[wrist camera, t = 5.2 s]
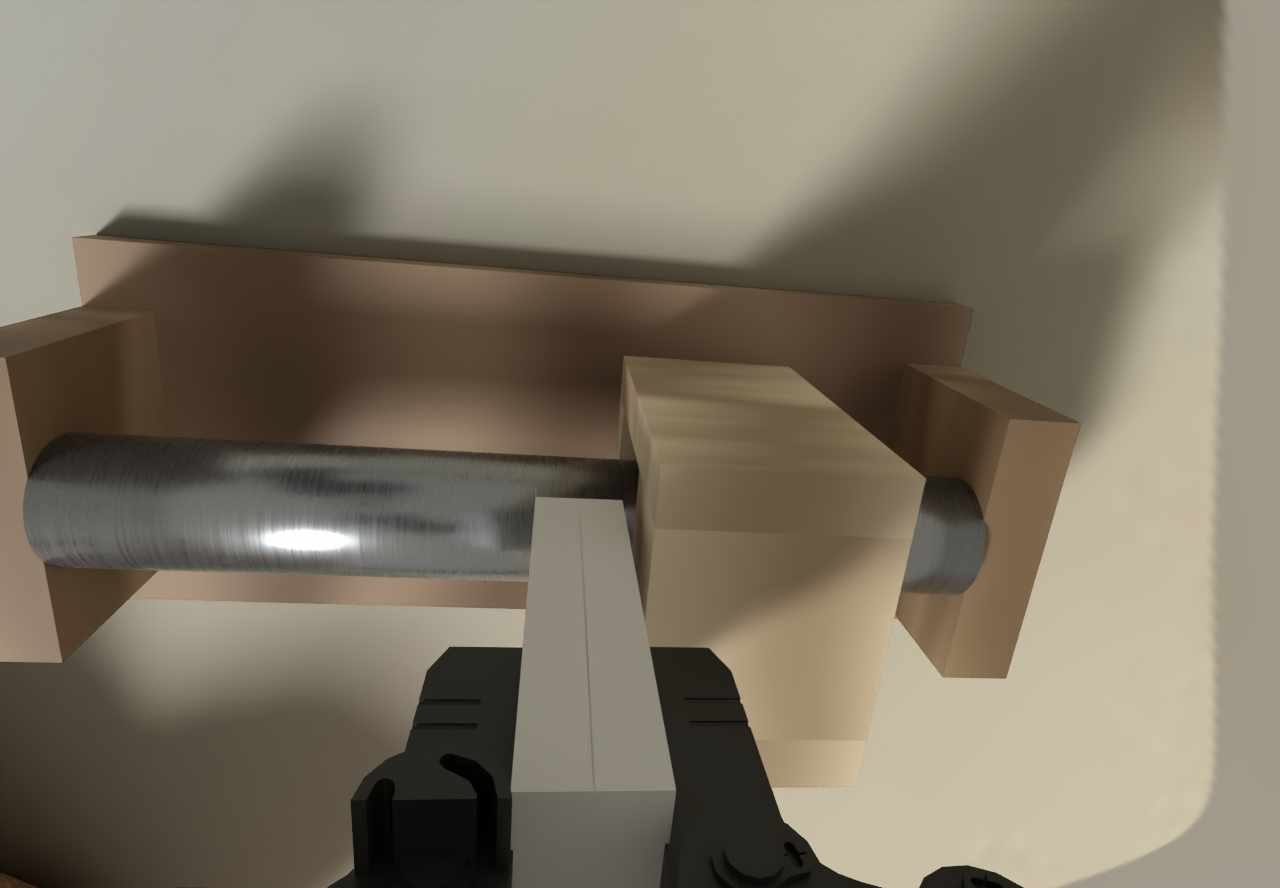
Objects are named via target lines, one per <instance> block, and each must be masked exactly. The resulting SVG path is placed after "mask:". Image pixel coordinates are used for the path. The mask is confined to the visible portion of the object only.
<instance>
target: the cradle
mask: <svg viewBox="0 0 1280 888" xmlns="http://www.w3.org/2000/svg"><path fill="white" fill-rule="evenodd" d="M72 241H73V247H74V254H75V261H76V267H77V274H78V281H79V287H80V294H81V301H82V306H81V307H77V308H73V309H70V310H66V311H62V312H58V313H54V314H50V315H46V316H42V317H38V318H34V319H31V320H27V321H23V322H19V323H15V324H11V325H7V326H3V327H0V662H50V663H63V662H64V661H65V660H66V659H67V658H68V657H69V656H70V655H71V654H72V653H73V652H74V651H75V650H76V649H77V648H78V647H79V646H80V645H81V644H82V643H83V642H84V641H86V640H87V639H88V638H89V637H90V636H91V635H92V634H93V633H94V632H95V631H96V630H97V629H98V628H99V627H100V626H101V625H102V624H103V623H104V622H105V621H106V620H107V619H109V618H110V617H111V616H112V615H113V614H114V613H115V612H116V611H117V610H118V609H119V608H120V607H121V606H122V605H123V604H124V603H125V602H126V601H127V600H128V599H166V600H204V601H242V602H279V603H317V604H355V605H393V606H431V607H469V608H507V609H526V603H527V591H528V582H518V581H485V580H452V579H420V578H387V577H355V576H322V575H290V574H257V573H225V572H192V571H160V570H127V569H95V568H62V567H53V566H50V565H47V564H46V563H44V562H43V561H41V560H40V559H39V558H38V557H37V556H36V554H35V553H34V552H33V550H32V548H31V546H30V544H29V542H28V539H27V536H26V532H25V528H24V521H23V499H24V492H25V487H26V483H27V479H28V476H29V473H30V471H31V468H32V466H33V464H34V462H35V460H36V458H37V457H38V455H39V454H40V452H41V451H42V450H43V448H44V447H45V446H46V445H47V444H48V443H49V442H50V441H51V440H53V439H54V438H55V437H57V436H59V435H61V434H63V433H66V432H92V433H112V434H132V435H151V436H171V437H191V438H210V439H230V440H250V441H269V442H289V443H309V444H328V445H348V446H367V447H387V448H407V449H426V450H446V451H466V452H485V453H505V454H525V455H544V456H564V457H584V458H603V459H615V455H616V443H617V431H618V419H619V407H620V395H621V383H622V371H623V359H624V356H635V357H650V358H665V359H680V360H694V361H709V362H724V363H739V364H754V365H768V366H783V367H790V368H791V369H793V370H794V371H795V372H796V373H798V374H799V375H800V376H801V377H802V378H804V379H805V380H806V381H807V382H809V383H810V384H811V385H812V386H813V387H815V388H816V389H817V390H818V391H820V392H821V393H822V394H823V395H824V396H826V397H827V398H828V399H829V400H831V401H832V402H833V403H834V404H835V405H837V406H838V407H839V408H840V409H842V410H843V411H844V412H845V413H846V414H848V415H849V416H850V417H851V418H853V419H854V420H855V421H856V422H858V423H859V424H860V425H861V426H862V427H864V428H865V429H866V430H867V431H869V432H870V433H871V434H872V435H873V436H875V437H876V438H877V439H878V440H880V441H881V442H882V443H883V444H884V445H886V446H887V447H888V448H889V449H891V450H892V451H893V452H894V453H895V454H897V455H898V456H899V457H900V458H902V459H903V460H904V461H905V462H907V463H908V464H909V465H910V466H911V467H913V468H914V469H915V470H916V471H918V472H919V473H920V474H921V475H937V476H955V477H959V478H961V479H963V480H964V481H966V482H967V483H968V484H969V485H970V487H971V488H972V489H973V491H974V492H975V494H976V496H977V498H978V500H979V503H980V506H981V509H982V513H983V518H984V525H985V549H984V556H983V561H982V565H981V568H980V571H979V573H978V575H977V578H976V579H975V581H974V583H973V584H972V585H971V587H970V588H968V589H967V590H966V591H965V592H963V593H961V594H958V595H940V594H908V593H900V595H899V600H898V604H897V609H896V613H895V617H894V619H899V621H900V622H901V623H902V625H903V626H904V627H905V629H906V630H907V631H908V632H909V634H910V635H911V636H912V638H913V639H914V640H915V642H916V643H917V644H918V646H919V647H920V648H921V649H922V651H923V652H924V653H925V655H926V656H927V657H928V659H929V660H930V661H931V663H932V664H933V665H934V666H935V668H936V669H937V670H938V672H939V673H940V674H941V676H942V677H949V678H1006V677H1007V674H1008V670H1009V667H1010V663H1011V660H1012V656H1013V653H1014V650H1015V646H1016V643H1017V639H1018V636H1019V632H1020V629H1021V626H1022V622H1023V619H1024V615H1025V612H1026V609H1027V605H1028V602H1029V598H1030V595H1031V591H1032V588H1033V585H1034V581H1035V578H1036V574H1037V571H1038V568H1039V564H1040V561H1041V557H1042V554H1043V550H1044V547H1045V544H1046V540H1047V537H1048V533H1049V530H1050V527H1051V523H1052V520H1053V516H1054V513H1055V509H1056V506H1057V503H1058V499H1059V496H1060V492H1061V489H1062V486H1063V482H1064V479H1065V475H1066V472H1067V468H1068V465H1069V462H1070V458H1071V455H1072V451H1073V448H1074V445H1075V441H1076V438H1077V434H1078V431H1079V427H1080V424H1081V423H1079V422H1076V421H1074V420H1072V419H1070V418H1068V417H1066V416H1064V415H1061V414H1059V413H1057V412H1055V411H1053V410H1051V409H1049V408H1046V407H1044V406H1042V405H1040V404H1038V403H1036V402H1034V401H1031V400H1029V399H1027V398H1025V397H1023V396H1021V395H1018V394H1016V393H1014V392H1012V391H1010V390H1008V389H1006V388H1003V387H1001V386H999V385H997V384H995V383H993V382H991V381H988V380H986V379H984V378H982V377H980V376H978V375H976V374H973V373H971V372H969V371H967V370H965V369H963V368H961V367H960V365H961V361H962V356H963V352H964V348H965V343H966V339H967V335H968V331H969V326H970V322H971V318H972V313H973V309H971V308H968V307H965V306H962V305H958V304H947V303H935V302H922V301H910V300H897V299H885V298H873V297H860V296H848V295H835V294H823V293H810V292H798V291H785V290H773V289H760V288H748V287H735V286H723V285H710V284H698V283H685V282H673V281H661V280H648V279H636V278H623V277H611V276H598V275H586V274H573V273H561V272H548V271H536V270H523V269H511V268H498V267H486V266H474V265H461V264H449V263H436V262H424V261H411V260H399V259H386V258H374V257H361V256H349V255H336V254H324V253H311V252H299V251H286V250H274V249H262V248H249V247H237V246H224V245H212V244H199V243H187V242H174V241H162V240H149V239H137V238H124V237H112V236H99V235H90V236H81V237H72Z"/></svg>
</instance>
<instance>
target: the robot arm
mask: <svg viewBox="0 0 1280 888" xmlns="http://www.w3.org/2000/svg"><path fill="white" fill-rule="evenodd" d="M351 814H352V832H353V850H354V869H353V870H352V871H351V872H350V873H349V874H348V875H346V876H345V877H343V878H342V879H340V880H338V881H337V882H335V883H334V884H332V885H330V886H329V887H327V888H881V887H878V886H874V885H870V884H867V883H863V882H860V881H857V880H854V879H852V878H849V877H846V876H843V875H841V874H838V873H836V872H835V871H833V870H831V869H830V868H828V867H826V866H824V865H823V864H821V863H820V862H819V860H818V858H817V857H816V855H815V853H814V852H813V850H812V848H811V847H810V845H809V843H808V842H807V841H806V840H805V839H804V838H803V837H802V836H800V835H799V834H798V833H797V832H796V831H795V830H793V829H792V828H791V827H790V826H789V825H788V824H786V823H784V821H783V819H782V817H781V815H780V812H779V809H778V806H777V803H776V800H775V797H774V794H773V791H772V789H771V786H770V783H769V780H768V777H767V774H766V771H765V768H764V765H763V762H762V759H761V756H760V753H759V751H758V748H757V745H756V742H755V739H754V736H753V733H752V730H751V727H749V726H748V718H747V715H746V713H745V710H744V707H743V704H742V703H741V702H740V695H739V692H738V689H737V686H736V683H735V680H734V677H733V675H732V672H731V670H730V669H729V668H728V667H727V666H726V665H725V664H724V663H723V662H722V661H721V660H720V659H719V658H718V657H717V656H716V655H715V654H714V653H713V651H712V650H711V649H710V648H702V647H650V646H649V641H648V636H647V630H646V625H645V620H644V614H643V609H642V603H641V598H640V593H639V587H638V582H637V576H636V571H635V566H634V560H633V555H632V549H631V544H630V539H629V533H628V528H627V522H626V517H625V512H624V506H623V501H622V500H605V499H578V498H551V497H535V509H534V521H533V533H532V544H531V556H530V568H529V580H528V591H527V603H526V615H525V627H524V638H523V648H505V647H449V648H448V649H447V650H446V651H445V652H444V653H443V654H442V656H441V657H440V658H439V659H438V660H437V661H436V662H435V663H434V664H433V665H432V666H431V667H430V668H429V669H428V670H427V673H426V677H425V681H424V684H423V688H422V691H421V695H420V699H419V705H418V706H417V710H416V713H415V717H414V721H413V727H412V729H411V731H410V735H409V739H408V742H407V746H406V750H405V752H403V753H401V754H398V755H396V756H393V757H391V758H389V759H387V760H385V761H384V762H383V763H382V764H380V765H379V766H378V767H377V768H376V769H374V770H373V771H372V772H371V773H369V774H368V775H367V776H366V777H364V779H363V781H362V782H361V784H360V786H359V787H358V789H357V791H356V792H355V794H354V796H353V797H352V799H351ZM919 888H1023V887H1021V886H1020V885H1018V884H1016V883H1014V882H1012V881H1010V880H1009V879H1007V878H1005V877H1003V876H1001V875H999V874H997V873H995V872H991V871H987V870H983V869H979V868H975V867H972V866H968V865H966V866H950V867H941V868H940V869H938V870H936V871H935V872H933V873H931V874H929V875H928V876H926V877H924V879H923V881H922V883H921V885H920V887H919Z"/></svg>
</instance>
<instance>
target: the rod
mask: <svg viewBox="0 0 1280 888" xmlns="http://www.w3.org/2000/svg"><path fill="white" fill-rule="evenodd" d="M922 476H924V477H925V478H926V482H925V486H924V490H923V495H922V499H921V504H920V508H919V512H918V517H917V521H916V525H915V530H914V534H913V539H912V543H911V547H910V552H909V556H908V560H907V565H906V569H905V574H904V578H903V582H902V587H901V591H900V593H908V594H940V595H958V594H961V593H963V592H965V591H966V590H967V589H968V588H970V587H971V585H972V584H973V583H974V581H975V579H976V578H977V575H978V573H979V571H980V568H981V565H982V561H983V556H984V549H985V525H984V518H983V513H982V509H981V506H980V503H979V500H978V498H977V496H976V494H975V492H974V491H973V489H972V488H971V487H970V485H969V484H968V483H967V482H966V481H964V480H963V479H961V478H959V477H955V476H937V475H922ZM638 480H639V466H638V462H637V460H623V459H603V458H584V457H564V456H544V455H525V454H505V453H485V452H466V451H446V450H426V449H407V448H387V447H367V446H348V445H328V444H309V443H289V442H269V441H250V440H230V439H210V438H191V437H171V436H151V435H132V434H112V433H92V432H66V433H63V434H61V435H59V436H57V437H55V438H54V439H53V440H51V441H50V442H49V443H48V444H47V445H46V446H45V447H44V448H43V450H42V451H41V452H40V454H39V455H38V457H37V458H36V460H35V462H34V464H33V466H32V468H31V471H30V473H29V476H28V479H27V483H26V487H25V492H24V499H23V521H24V528H25V532H26V536H27V539H28V542H29V544H30V546H31V548H32V550H33V552H34V553H35V554H36V556H37V557H38V558H39V559H40V560H41V561H43V562H44V563H46V564H47V565H50V566H53V567H62V568H95V569H127V570H160V571H192V572H225V573H257V574H290V575H322V576H355V577H387V578H420V579H452V580H485V581H518V582H528V580H529V568H530V556H531V544H532V533H533V521H534V509H535V497H551V498H578V499H605V500H622V501H623V506H624V512H625V517H626V522H627V528H628V533H629V539H630V544H631V549H632V543H633V533H634V522H635V512H636V501H637V491H638Z"/></svg>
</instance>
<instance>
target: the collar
mask: <svg viewBox="0 0 1280 888" xmlns="http://www.w3.org/2000/svg"><path fill="white" fill-rule="evenodd" d="M615 459H623V460H637V462H638V466H639V480H638V491H637V501H636V512H635V522H634V533H633V543H632V555H633V560H634V566H635V571H636V576H637V582H638V587H639V593H640V598H641V603H642V609H643V614H644V620H645V625H646V630H647V636H648V641H649V646H650V647H702V648H710V649H711V650H712V651H713V653H714V654H715V655H716V656H717V657H718V658H719V659H720V660H721V661H722V662H723V663H724V664H725V665H726V666H727V667H728V668H729V669H730V670H731V672H732V675H733V677H734V680H735V683H736V686H737V689H738V692H739V695H740V702H741V703H742V704H743V707H744V710H745V713H746V715H747V718H748V726H749V727H751V730H752V733H753V736H754V739H755V742H756V745H757V748H758V751H759V753H760V756H761V759H762V762H763V765H764V768H765V771H766V774H767V777H768V780H769V783H770V786H771V788H810V787H856V784H857V779H858V775H859V770H860V766H861V762H862V757H863V753H864V749H865V744H866V740H867V735H868V731H869V727H870V722H871V718H872V714H873V709H874V705H875V700H876V696H877V692H878V687H879V683H880V679H881V674H882V670H883V665H884V661H885V657H886V652H887V648H888V644H889V639H890V635H891V630H892V626H893V622H894V617H895V613H896V609H897V604H898V600H899V595H900V591H901V587H902V582H903V578H904V574H905V569H906V565H907V560H908V556H909V552H910V547H911V543H912V539H913V534H914V530H915V525H916V521H917V517H918V512H919V508H920V504H921V499H922V495H923V490H924V486H925V482H926V478H925V477H924V476H922V475H921V474H920V473H919V472H918V471H916V470H915V469H914V468H913V467H911V466H910V465H909V464H908V463H907V462H905V461H904V460H903V459H902V458H900V457H899V456H898V455H897V454H895V453H894V452H893V451H892V450H891V449H889V448H888V447H887V446H886V445H884V444H883V443H882V442H881V441H880V440H878V439H877V438H876V437H875V436H873V435H872V434H871V433H870V432H869V431H867V430H866V429H865V428H864V427H862V426H861V425H860V424H859V423H858V422H856V421H855V420H854V419H853V418H851V417H850V416H849V415H848V414H846V413H845V412H844V411H843V410H842V409H840V408H839V407H838V406H837V405H835V404H834V403H833V402H832V401H831V400H829V399H828V398H827V397H826V396H824V395H823V394H822V393H821V392H820V391H818V390H817V389H816V388H815V387H813V386H812V385H811V384H810V383H809V382H807V381H806V380H805V379H804V378H802V377H801V376H800V375H799V374H798V373H796V372H795V371H794V370H793V369H791V368H790V367H783V366H768V365H754V364H739V363H724V362H709V361H694V360H680V359H665V358H650V357H635V356H624V359H623V371H622V383H621V395H620V407H619V419H618V431H617V443H616V455H615Z"/></svg>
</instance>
